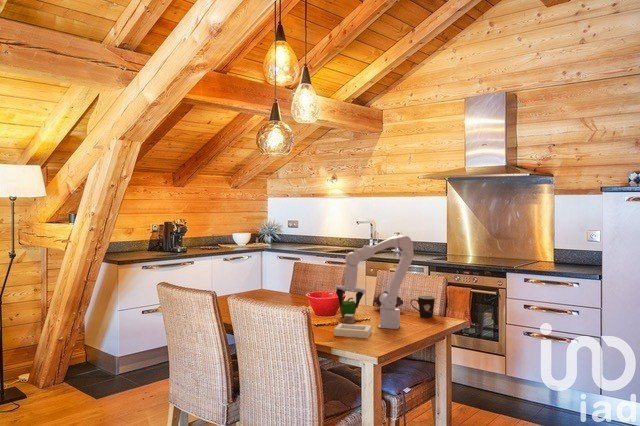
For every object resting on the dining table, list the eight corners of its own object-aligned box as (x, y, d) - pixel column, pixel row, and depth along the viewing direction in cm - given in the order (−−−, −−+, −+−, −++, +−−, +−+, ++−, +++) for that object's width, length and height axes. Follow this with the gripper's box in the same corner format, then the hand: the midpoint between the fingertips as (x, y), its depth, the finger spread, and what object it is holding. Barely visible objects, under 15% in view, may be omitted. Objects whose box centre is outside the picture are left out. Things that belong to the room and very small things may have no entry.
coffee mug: (437, 316, 270) (437, 296, 269) (431, 319, 263) (431, 299, 262) (416, 313, 276) (416, 294, 276) (409, 316, 269) (409, 297, 268)
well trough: (371, 332, 238) (371, 325, 238) (367, 338, 229) (367, 331, 229) (339, 329, 242) (339, 323, 242) (334, 335, 233) (334, 328, 233)
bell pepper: (337, 318, 265) (337, 298, 264) (342, 314, 272) (342, 295, 272) (353, 319, 262) (353, 299, 261) (358, 316, 269) (358, 296, 269)
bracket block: (354, 327, 248) (354, 314, 247) (352, 329, 244) (352, 316, 244) (345, 326, 249) (345, 313, 249) (344, 328, 245) (344, 315, 245)
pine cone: (406, 310, 283) (406, 291, 283) (398, 313, 275) (398, 294, 274) (376, 306, 293) (376, 288, 292) (368, 309, 284) (368, 291, 284)
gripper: (333, 277, 244) (331, 306, 245) (363, 281, 240) (361, 310, 240) (338, 275, 251) (335, 303, 251) (367, 279, 246) (365, 307, 247)
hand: (348, 306), depth 246 cm, fingers open, 7 cm apart
